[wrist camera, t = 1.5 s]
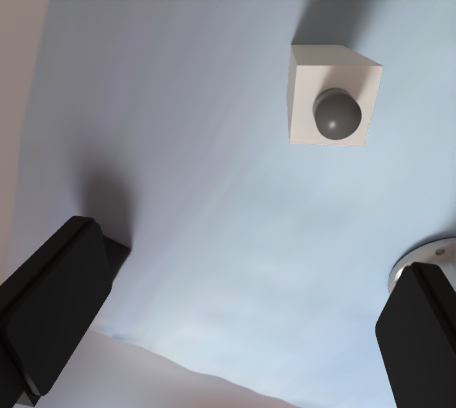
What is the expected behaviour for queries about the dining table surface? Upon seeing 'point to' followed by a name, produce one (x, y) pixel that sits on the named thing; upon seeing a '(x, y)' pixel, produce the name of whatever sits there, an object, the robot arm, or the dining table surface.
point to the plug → (330, 95)
